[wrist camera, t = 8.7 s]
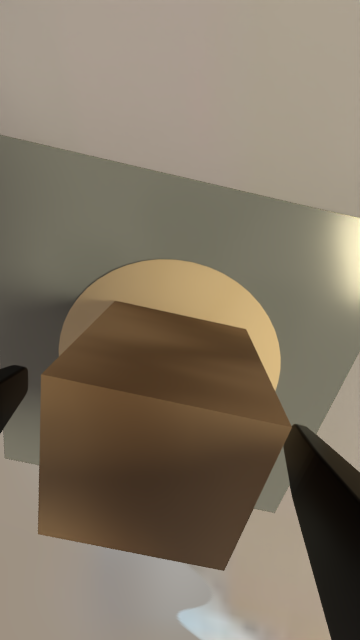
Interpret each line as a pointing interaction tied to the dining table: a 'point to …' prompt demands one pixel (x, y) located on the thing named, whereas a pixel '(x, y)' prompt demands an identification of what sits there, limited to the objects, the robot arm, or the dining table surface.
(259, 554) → the dining table surface
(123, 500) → the cube
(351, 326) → the coaster
